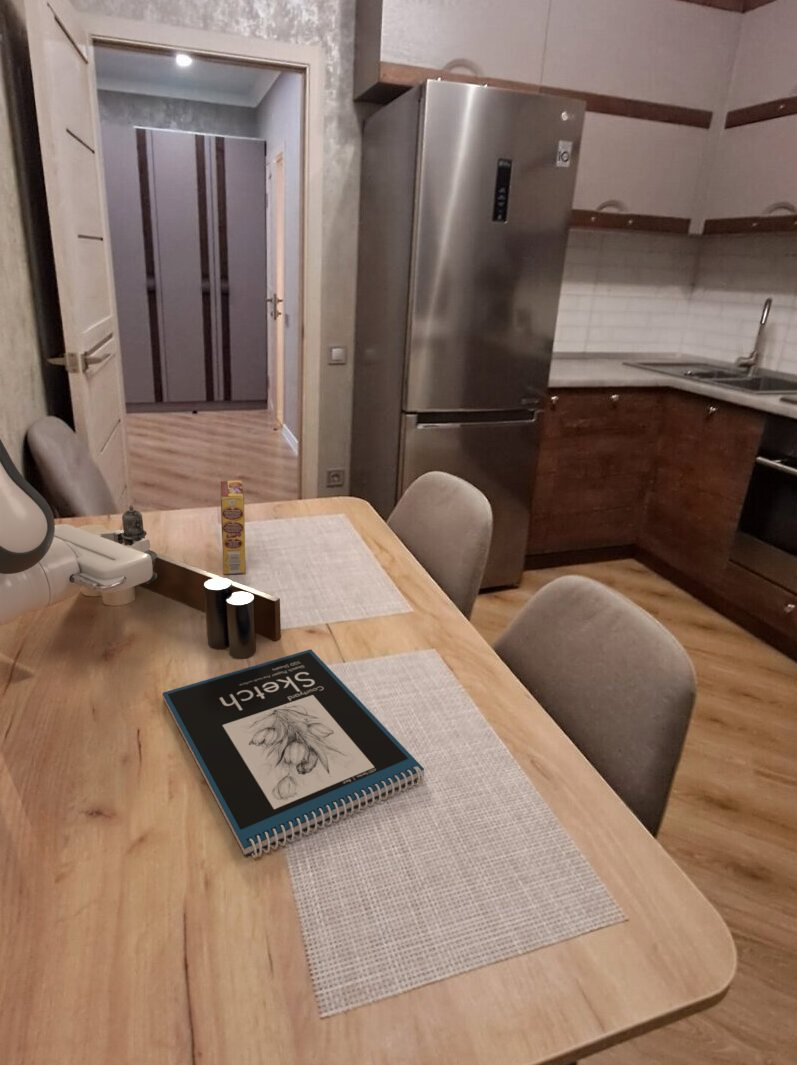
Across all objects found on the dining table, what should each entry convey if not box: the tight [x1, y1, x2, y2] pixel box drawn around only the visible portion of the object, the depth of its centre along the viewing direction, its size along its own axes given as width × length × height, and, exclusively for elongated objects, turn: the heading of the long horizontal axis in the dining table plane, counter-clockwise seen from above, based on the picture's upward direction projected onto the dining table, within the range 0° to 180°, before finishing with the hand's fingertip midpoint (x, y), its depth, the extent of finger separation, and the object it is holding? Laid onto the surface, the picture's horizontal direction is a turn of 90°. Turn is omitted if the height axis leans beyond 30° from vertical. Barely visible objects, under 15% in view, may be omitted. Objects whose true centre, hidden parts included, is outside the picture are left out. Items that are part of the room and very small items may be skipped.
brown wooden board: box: [138, 552, 282, 642], centre depth 110 cm, size 38×1×7 cm, turn 59°
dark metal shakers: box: [204, 577, 257, 660], centre depth 98 cm, size 8×4×10 cm, turn 59°
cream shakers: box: [77, 523, 137, 607], centre depth 111 cm, size 11×5×12 cm, turn 59°
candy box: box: [219, 479, 246, 575], centre depth 123 cm, size 9×4×15 cm, turn 14°
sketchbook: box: [162, 648, 425, 860], centre depth 81 cm, size 22×30×2 cm
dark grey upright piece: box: [121, 505, 157, 587], centre depth 101 cm, size 6×6×12 cm
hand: (135, 538), depth 101 cm, fingers closed on dark grey upright piece, 3 cm apart
